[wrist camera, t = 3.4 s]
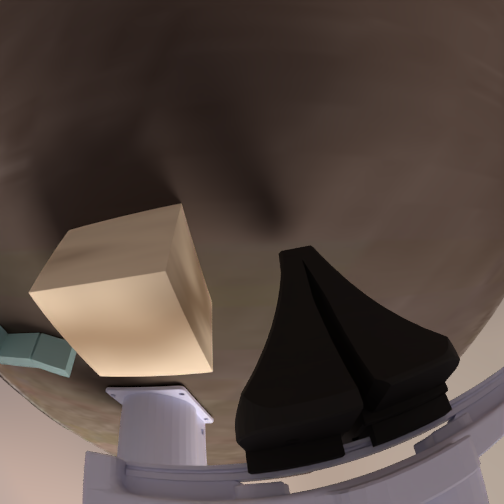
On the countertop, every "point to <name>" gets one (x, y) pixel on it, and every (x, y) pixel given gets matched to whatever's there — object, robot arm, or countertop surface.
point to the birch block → (130, 295)
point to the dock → (37, 352)
